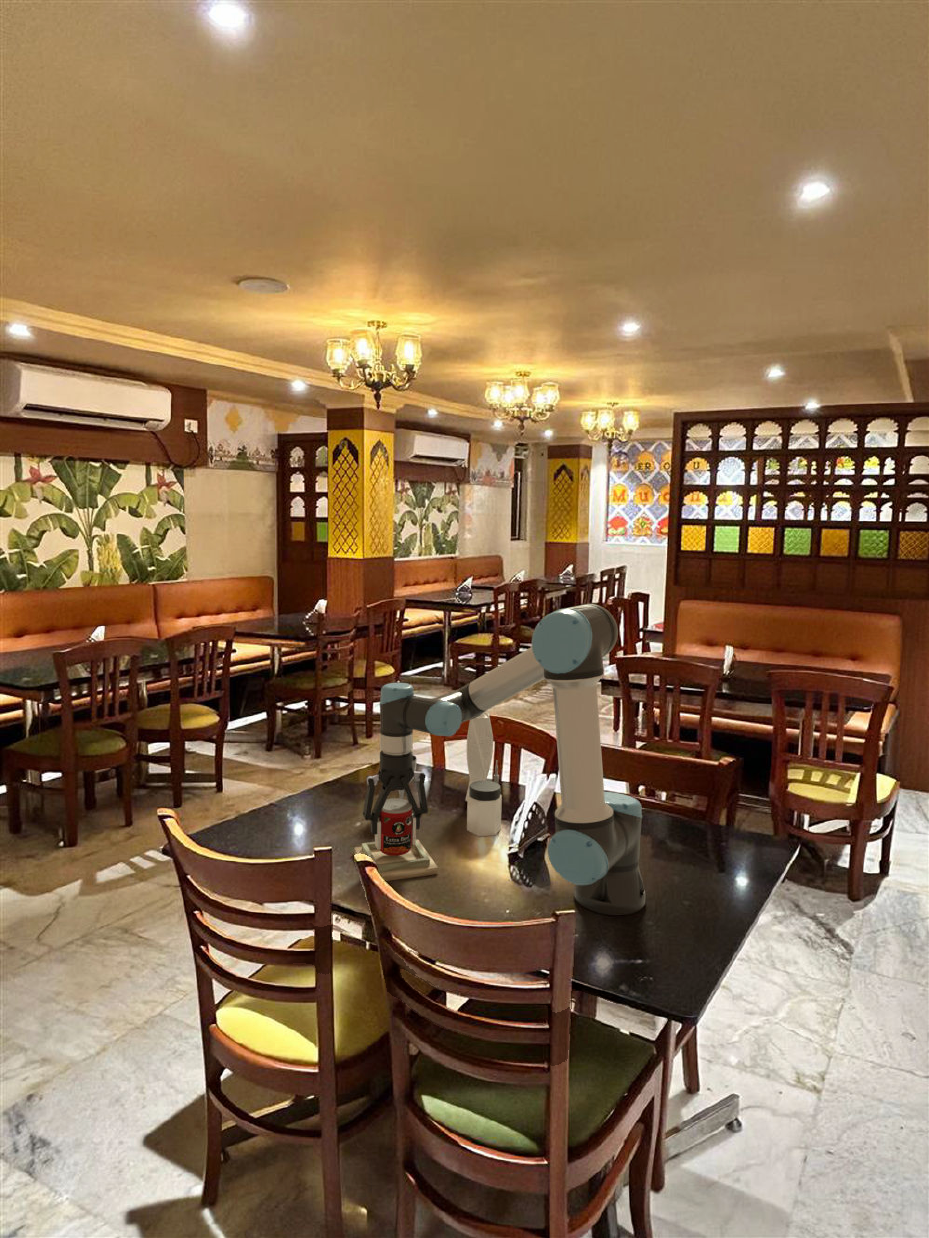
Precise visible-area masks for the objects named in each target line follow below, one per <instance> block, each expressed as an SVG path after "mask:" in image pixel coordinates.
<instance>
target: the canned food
mask: <svg viewBox="0 0 929 1238" xmlns="http://www.w3.org/2000/svg"><path fill="white" fill-rule="evenodd" d="M412 814H413V813H412V805H411V804H410V803H409V801H408V799H404V798H403V799H400V797H399V798H397V797H395V798H393V797H392V798H388V799H386V802H385V804H384V806H383V808H382V811H381V814H380V816H379V820H380V821H381V849H380V851H381V852H382V853H384V854H386V855H390V856H399V855H403V854H406V853H408V852H409V851H410V849H411V844H412Z"/></svg>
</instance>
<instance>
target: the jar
mask: <svg viewBox="0 0 929 1238" xmlns="http://www.w3.org/2000/svg"><path fill="white" fill-rule="evenodd" d="M468 786H469V785H468ZM501 793H502V788H501V785H500V784H499V782H498V783H495V782H494V781H492V780H491V781H490V780H487V781H476V782H473V783H471V784H470V786H469V796H468V802H467V803H466V804H467V809H466V831H467V832H470V833H471V834H472V835H475V836H477V837H490V836H491V837H492V836H493V837H494V836H496V835H497V834H498V832H499V831H501V828H502V802H503V801H502V800H503V799H502V798H503V796H502V794H501Z"/></svg>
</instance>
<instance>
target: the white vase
mask: <svg viewBox="0 0 929 1238" xmlns="http://www.w3.org/2000/svg"><path fill="white" fill-rule="evenodd" d="M490 715H491V712H490V711H489V710H486V711H485V712H484V713H483V714H481V715H480V716H478V717H476V718H474V719H472V720H469V723H468V730H467V736H466V763H467V771H468V775H469V782H468V788H467V792H466V796H465V802H467V803H468V796H469V786H470V784H471V783H473V782H476V781H488V776H489V773H490V769H491V765H492V759H493V754H494V753H493V752H494V735H493V728H492V724H491V718H490ZM494 769H495V770H494V774H493V782H495V783H498V784H499V779H500V775H499V774H498V772H499V771H498V770H499V766H498V760H497V759H496V760H495V766H494Z"/></svg>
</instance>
